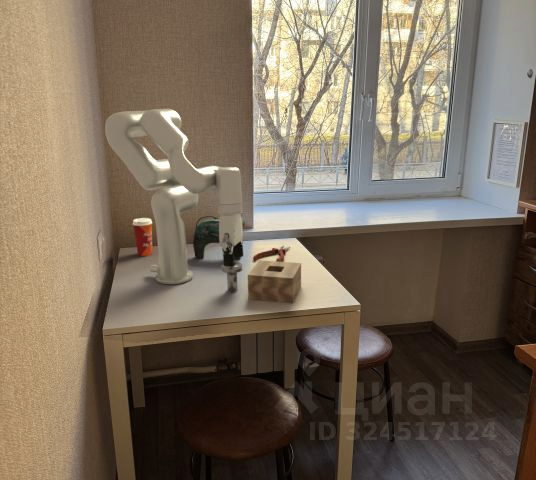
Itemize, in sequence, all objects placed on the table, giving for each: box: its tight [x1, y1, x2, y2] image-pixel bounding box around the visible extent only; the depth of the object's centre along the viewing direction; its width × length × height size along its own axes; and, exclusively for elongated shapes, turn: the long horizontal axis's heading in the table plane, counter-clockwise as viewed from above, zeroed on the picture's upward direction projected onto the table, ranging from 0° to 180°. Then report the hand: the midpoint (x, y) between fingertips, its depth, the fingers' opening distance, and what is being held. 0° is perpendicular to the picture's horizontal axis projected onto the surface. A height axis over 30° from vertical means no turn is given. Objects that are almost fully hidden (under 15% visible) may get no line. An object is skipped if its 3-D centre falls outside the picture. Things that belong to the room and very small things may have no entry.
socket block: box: [247, 259, 302, 304], centre depth 155 cm, size 14×14×8 cm
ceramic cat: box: [192, 213, 246, 260], centre depth 187 cm, size 20×6×20 cm, turn 84°
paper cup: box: [132, 217, 153, 257], centre depth 194 cm, size 8×8×14 cm
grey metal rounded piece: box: [220, 261, 243, 293], centre depth 158 cm, size 7×7×9 cm
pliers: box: [252, 245, 291, 262], centre depth 192 cm, size 12×20×3 cm, turn 154°
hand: (233, 261), depth 156 cm, fingers open, 9 cm apart
